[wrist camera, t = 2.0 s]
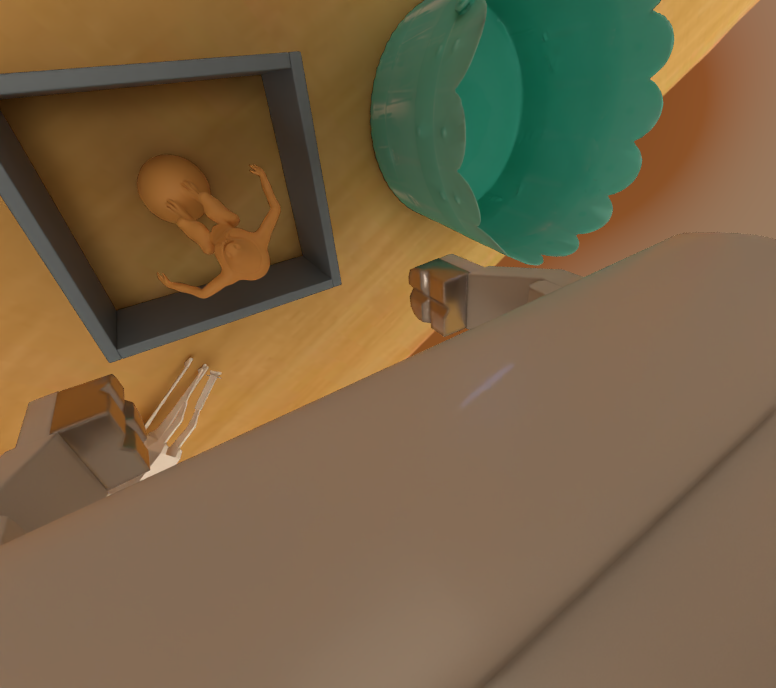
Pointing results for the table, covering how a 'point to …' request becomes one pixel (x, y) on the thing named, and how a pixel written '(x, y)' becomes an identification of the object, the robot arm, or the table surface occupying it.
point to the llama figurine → (172, 428)
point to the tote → (190, 313)
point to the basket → (518, 115)
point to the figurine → (191, 200)
